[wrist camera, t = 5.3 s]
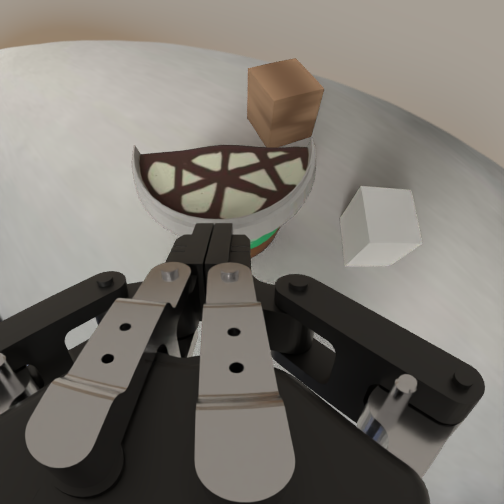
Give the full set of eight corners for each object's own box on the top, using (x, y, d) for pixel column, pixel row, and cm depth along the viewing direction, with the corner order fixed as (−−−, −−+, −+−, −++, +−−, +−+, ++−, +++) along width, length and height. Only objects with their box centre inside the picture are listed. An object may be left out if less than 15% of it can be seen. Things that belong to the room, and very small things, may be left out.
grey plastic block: (383, 220, 27) (411, 190, 22) (389, 266, 26) (422, 243, 20) (339, 218, 27) (360, 185, 22) (344, 266, 26) (369, 242, 20)
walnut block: (287, 105, 32) (295, 58, 25) (311, 136, 30) (324, 88, 24) (247, 117, 31) (248, 68, 24) (268, 150, 30) (273, 101, 23)
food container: (157, 278, 25) (110, 235, 16) (161, 212, 27) (125, 145, 18) (304, 274, 26) (337, 228, 16) (297, 207, 28) (321, 137, 18)
